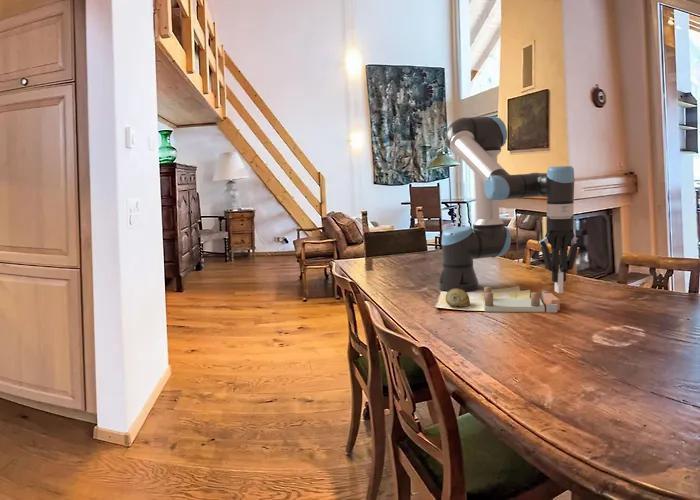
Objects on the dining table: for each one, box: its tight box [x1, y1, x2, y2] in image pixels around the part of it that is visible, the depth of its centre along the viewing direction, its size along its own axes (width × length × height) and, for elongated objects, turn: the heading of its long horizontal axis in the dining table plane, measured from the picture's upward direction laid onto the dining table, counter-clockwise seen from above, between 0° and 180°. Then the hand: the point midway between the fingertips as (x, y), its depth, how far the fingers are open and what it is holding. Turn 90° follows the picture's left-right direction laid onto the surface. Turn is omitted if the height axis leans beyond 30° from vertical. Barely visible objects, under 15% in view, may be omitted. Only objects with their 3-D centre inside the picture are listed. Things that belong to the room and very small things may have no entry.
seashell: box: [445, 288, 471, 308], centre depth 164 cm, size 10×7×8 cm
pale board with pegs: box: [483, 286, 558, 314], centre depth 157 cm, size 22×12×6 cm, turn 76°
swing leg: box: [541, 290, 561, 311], centre depth 156 cm, size 11×3×4 cm, turn 174°
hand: (558, 291), depth 152 cm, fingers closed
